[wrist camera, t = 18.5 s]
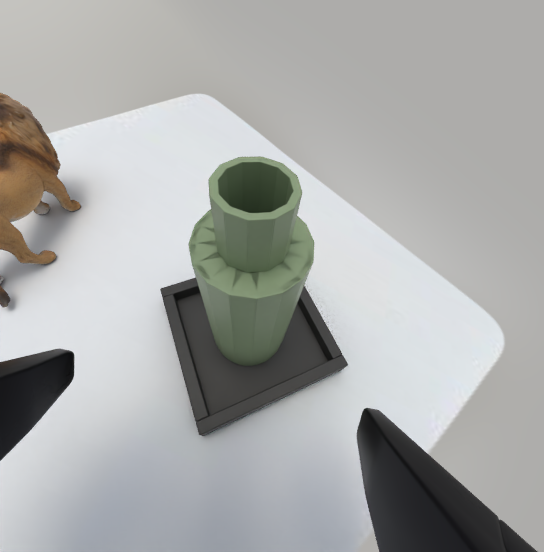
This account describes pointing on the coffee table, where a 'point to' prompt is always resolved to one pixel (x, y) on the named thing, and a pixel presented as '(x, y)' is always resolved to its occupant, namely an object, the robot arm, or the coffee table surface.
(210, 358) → the tray
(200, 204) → the coffee table surface
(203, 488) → the coffee table surface
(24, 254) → the lion figurine
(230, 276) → the vase
